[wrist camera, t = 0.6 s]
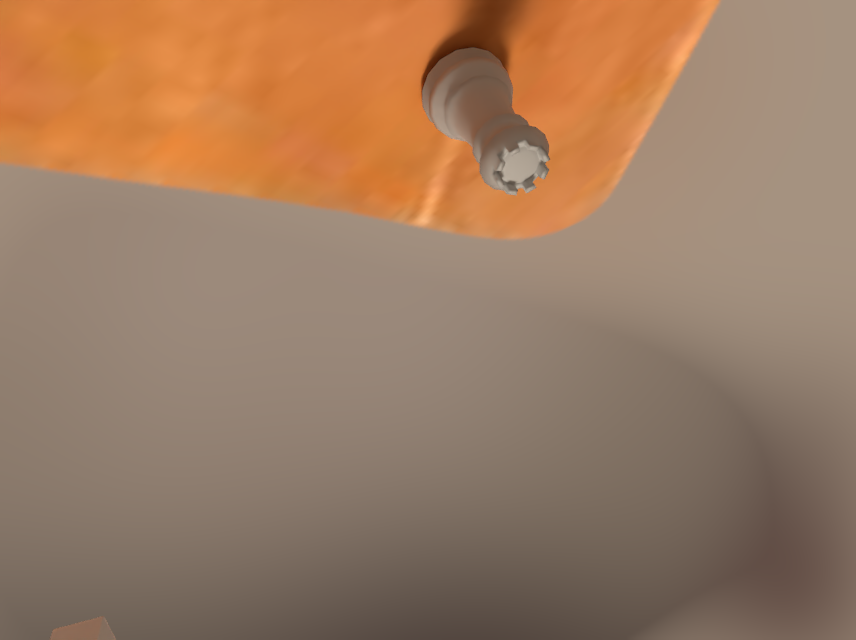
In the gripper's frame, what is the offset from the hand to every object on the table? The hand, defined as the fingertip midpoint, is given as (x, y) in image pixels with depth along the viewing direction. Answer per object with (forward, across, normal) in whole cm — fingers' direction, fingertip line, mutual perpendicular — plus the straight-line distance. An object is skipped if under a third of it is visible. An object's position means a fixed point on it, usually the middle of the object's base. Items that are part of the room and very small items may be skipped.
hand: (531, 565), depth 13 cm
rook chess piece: (+31, +5, +2) cm, 31 cm away
